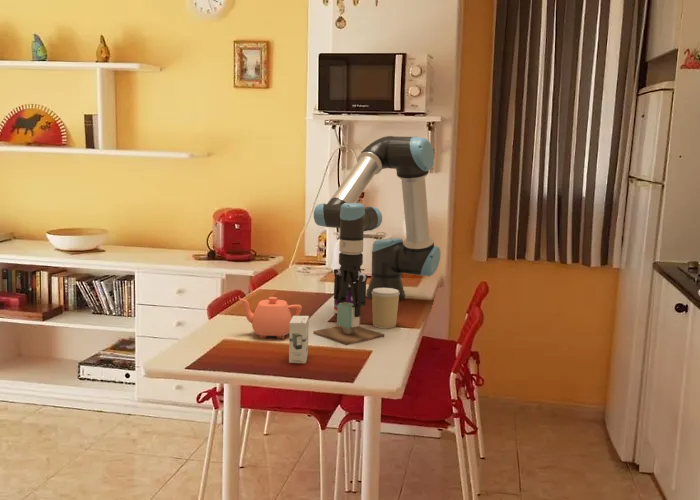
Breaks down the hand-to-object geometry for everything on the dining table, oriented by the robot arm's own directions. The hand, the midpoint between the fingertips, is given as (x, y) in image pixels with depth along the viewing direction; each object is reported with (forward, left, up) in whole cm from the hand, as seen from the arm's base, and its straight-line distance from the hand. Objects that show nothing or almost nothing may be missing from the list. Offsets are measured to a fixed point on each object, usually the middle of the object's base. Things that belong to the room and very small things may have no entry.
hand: (348, 324), depth 241 cm
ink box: (+28, +10, -4) cm, 30 cm away
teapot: (+20, -15, -4) cm, 25 cm away
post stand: (0, 0, -4) cm, 4 cm away
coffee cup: (-18, -2, -4) cm, 19 cm away
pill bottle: (-18, -22, -4) cm, 29 cm away
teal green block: (0, 0, 0) cm, 0 cm away
